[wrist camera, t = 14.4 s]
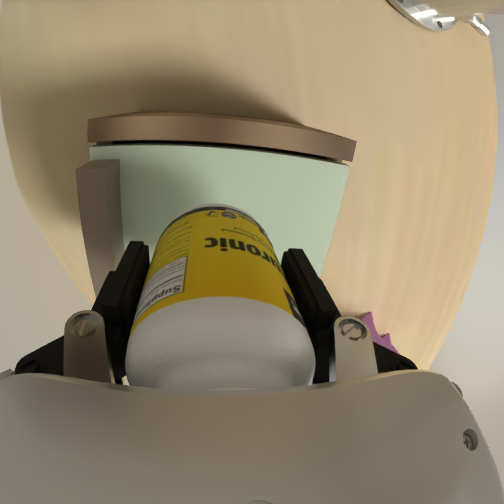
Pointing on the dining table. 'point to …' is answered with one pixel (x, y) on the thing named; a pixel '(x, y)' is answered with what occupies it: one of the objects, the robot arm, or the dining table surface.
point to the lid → (204, 196)
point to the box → (220, 133)
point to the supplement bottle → (217, 310)
